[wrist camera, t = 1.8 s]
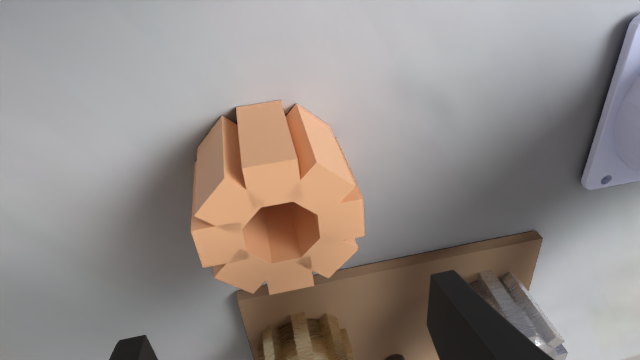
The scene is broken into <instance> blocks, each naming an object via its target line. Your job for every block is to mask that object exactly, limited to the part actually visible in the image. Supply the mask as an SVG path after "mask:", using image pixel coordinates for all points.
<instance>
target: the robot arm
mask: <svg viewBox="0 0 640 360" xmlns="http://www.w3.org/2000/svg"><path fill="white" fill-rule="evenodd" d="M636 181H640V14H639V15H637V16H636V17H635V18H634V19H633V20H632V21H631V22H630V25H629V27H628V29H627V33H626V36H625V39H624V42H623V46H622V49H621V52H620V56H619V59H618V62H617V65H616V69H615V72H614V75H613V78H612V82H611V85H610V88H609V91H608V95H607V98H606V101H605V104H604V108H603V111H602V114H601V117H600V121H599V124H598V127H597V130H596V134H595V137H594V140H593V143H592V147H591V150H590V153H589V156H588V160H587V163H586V166H585V170H584V173H583V176H582V179H581V183H582V185H583V186H584V187H585V188H586V189H588V190H595V189H600V188H605V187H610V186H615V185H621V184H626V183H631V182H636ZM426 325H427V327H428V330H429V333H430V336H431V338H432V341H433V344H434V347H435V349H436V352H437V354H438V357H439V360H554V359H553V358H552V357H550V356H549V355H548V354H547V353H545V352H544V351H543V350H542V349H540V348H539V347H538V346H537V345H536V344H534V343H533V342H532V341H531V340H530V339H528V338H527V337H526V336H525V335H524V334H523V333H522V332H520V331H519V330H518V329H517V328H516V327H515V326H513V325H512V324H511V323H510V322H509V321H508V320H507V319H505V318H504V317H503V316H502V315H501V314H500V313H499V312H498V311H497V310H496V309H495V308H493V307H492V306H491V305H490V304H489V303H488V302H487V301H486V300H485V299H484V298H483V297H482V296H481V295H480V294H479V293H478V292H476V291H475V290H474V289H473V288H472V287H471V286H470V285H469V284H468V283H467V282H466V281H465V280H464V279H463V278H462V277H461V276H460V275H459V274H458V273H457V272H456V271H454V270H449V271H444V272H440V273H435V274H431V276H430V288H429V300H428V312H427V324H426ZM109 360H158V359H157V357H156V355H155V353H154V351H153V349H152V347H151V345H150V343H149V341H148V339H147V337H146V335H142V336H137V337H133V338H128V339H123V340H120V341H119V342H118V343H117V344H116V346H115V348H114V350H113V353H112V355H111V357H110V359H109Z"/></svg>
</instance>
